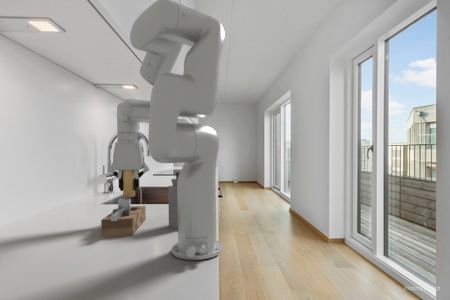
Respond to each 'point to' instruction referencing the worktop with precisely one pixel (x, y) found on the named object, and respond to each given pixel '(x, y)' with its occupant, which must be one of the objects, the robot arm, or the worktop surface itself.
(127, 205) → the lock pin
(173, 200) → the perfume bottle
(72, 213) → the worktop surface
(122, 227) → the socket block
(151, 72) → the robot arm
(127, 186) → the peg
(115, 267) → the worktop surface
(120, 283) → the worktop surface
